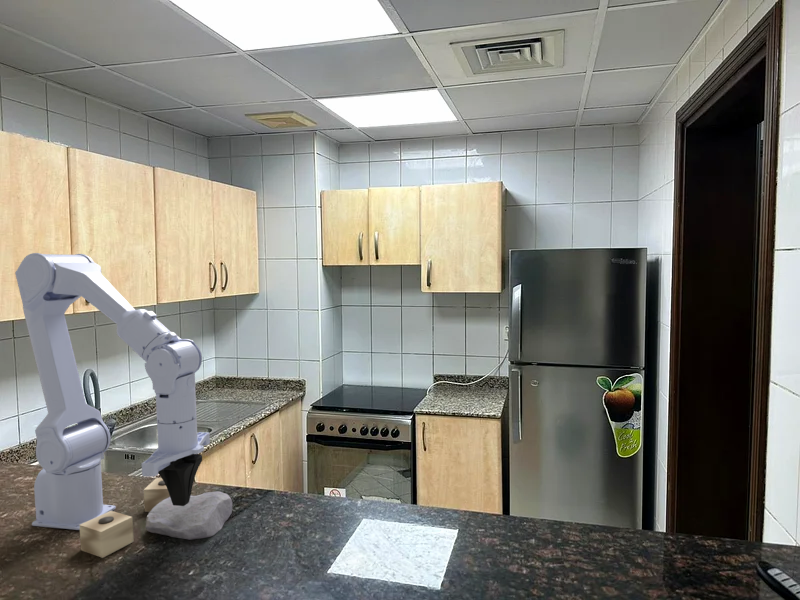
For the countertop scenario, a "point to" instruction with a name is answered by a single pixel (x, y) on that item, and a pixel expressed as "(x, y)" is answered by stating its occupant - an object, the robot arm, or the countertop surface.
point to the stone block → (191, 516)
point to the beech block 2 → (155, 494)
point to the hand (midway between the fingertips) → (180, 503)
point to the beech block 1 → (106, 533)
